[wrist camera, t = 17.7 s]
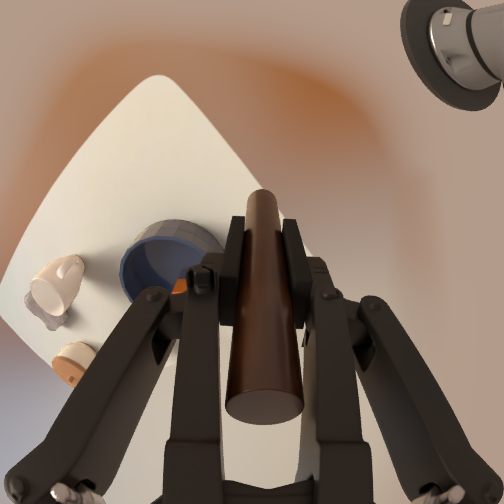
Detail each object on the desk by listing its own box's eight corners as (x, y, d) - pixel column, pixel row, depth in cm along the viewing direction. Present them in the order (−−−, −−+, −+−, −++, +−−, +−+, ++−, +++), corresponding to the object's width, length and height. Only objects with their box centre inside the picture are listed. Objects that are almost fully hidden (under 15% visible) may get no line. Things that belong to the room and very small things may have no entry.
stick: (277, 190, 23) (312, 389, 7) (275, 217, 24) (297, 425, 8) (248, 188, 23) (223, 387, 7) (246, 215, 24) (225, 423, 8)
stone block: (44, 272, 52) (27, 293, 53) (35, 282, 48) (18, 303, 49) (77, 308, 57) (58, 325, 58) (71, 320, 53) (51, 337, 54)
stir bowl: (228, 221, 44) (224, 238, 38) (228, 308, 52) (225, 330, 47) (126, 218, 44) (110, 233, 38) (141, 300, 52) (131, 320, 47)
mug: (83, 288, 51) (57, 323, 41) (55, 262, 48) (26, 294, 38) (107, 254, 47) (77, 290, 37) (76, 224, 44) (40, 255, 34)
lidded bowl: (58, 334, 60) (40, 363, 50) (89, 333, 58) (70, 366, 48) (82, 366, 65) (68, 395, 56) (114, 367, 64) (100, 399, 54)
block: (199, 277, 48) (195, 291, 45) (203, 296, 50) (199, 310, 46) (177, 278, 48) (171, 292, 45) (182, 297, 50) (177, 311, 47)
